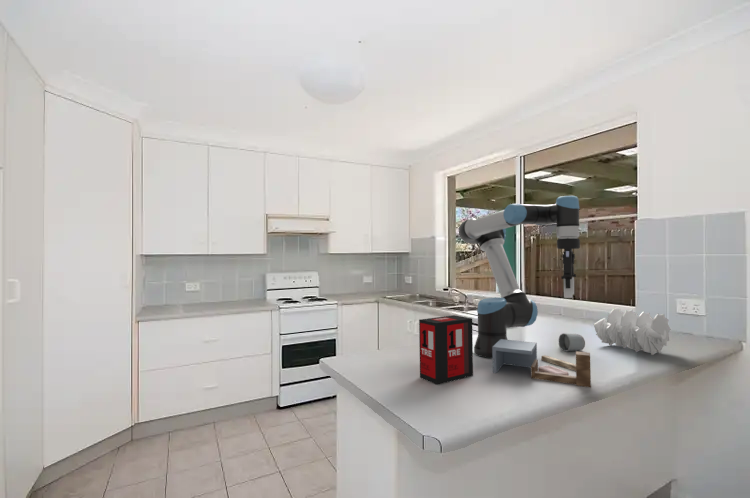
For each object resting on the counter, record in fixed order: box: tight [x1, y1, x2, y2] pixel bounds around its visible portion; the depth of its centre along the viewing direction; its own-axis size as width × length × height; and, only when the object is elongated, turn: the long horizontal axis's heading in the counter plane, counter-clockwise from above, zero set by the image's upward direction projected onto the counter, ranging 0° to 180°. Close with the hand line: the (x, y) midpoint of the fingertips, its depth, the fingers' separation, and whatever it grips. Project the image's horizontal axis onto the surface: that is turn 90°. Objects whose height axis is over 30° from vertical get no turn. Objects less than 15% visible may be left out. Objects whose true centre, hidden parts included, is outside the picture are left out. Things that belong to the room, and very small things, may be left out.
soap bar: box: [538, 365, 570, 376], centre depth 132 cm, size 5×9×2 cm, turn 19°
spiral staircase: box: [593, 307, 671, 356], centre depth 165 cm, size 18×18×25 cm
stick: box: [540, 354, 576, 372], centre depth 143 cm, size 18×2×2 cm, turn 23°
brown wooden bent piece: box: [530, 351, 592, 388], centre depth 128 cm, size 18×11×10 cm, turn 60°
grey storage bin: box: [492, 339, 538, 374], centre depth 138 cm, size 13×14×9 cm
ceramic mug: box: [558, 332, 586, 352], centre depth 166 cm, size 11×8×8 cm
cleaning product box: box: [418, 314, 474, 386], centre depth 132 cm, size 16×9×20 cm, turn 122°
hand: (569, 295), depth 139 cm, fingers open, 13 cm apart
